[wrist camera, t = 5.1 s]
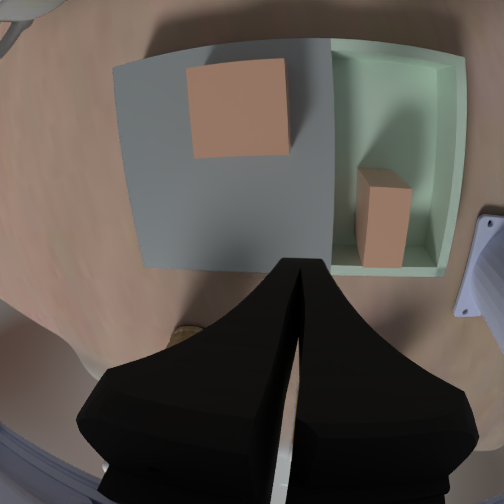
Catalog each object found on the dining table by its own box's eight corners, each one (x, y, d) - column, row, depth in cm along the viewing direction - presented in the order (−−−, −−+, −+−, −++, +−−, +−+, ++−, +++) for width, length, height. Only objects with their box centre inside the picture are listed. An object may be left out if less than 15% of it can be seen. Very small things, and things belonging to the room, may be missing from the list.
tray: (442, 62, 12) (465, 57, 10) (428, 252, 18) (443, 276, 15) (326, 49, 14) (330, 38, 11) (327, 249, 19) (330, 274, 16)
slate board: (326, 49, 14) (330, 38, 11) (327, 249, 19) (330, 274, 16) (139, 69, 16) (112, 67, 13) (163, 246, 21) (144, 267, 18)
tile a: (357, 167, 16) (391, 169, 16) (353, 233, 18) (385, 234, 17) (370, 186, 13) (412, 189, 12) (362, 267, 14) (401, 268, 14)
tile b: (287, 64, 12) (284, 58, 10) (291, 148, 14) (289, 155, 12) (201, 71, 13) (186, 68, 11) (208, 151, 14) (194, 158, 13)
